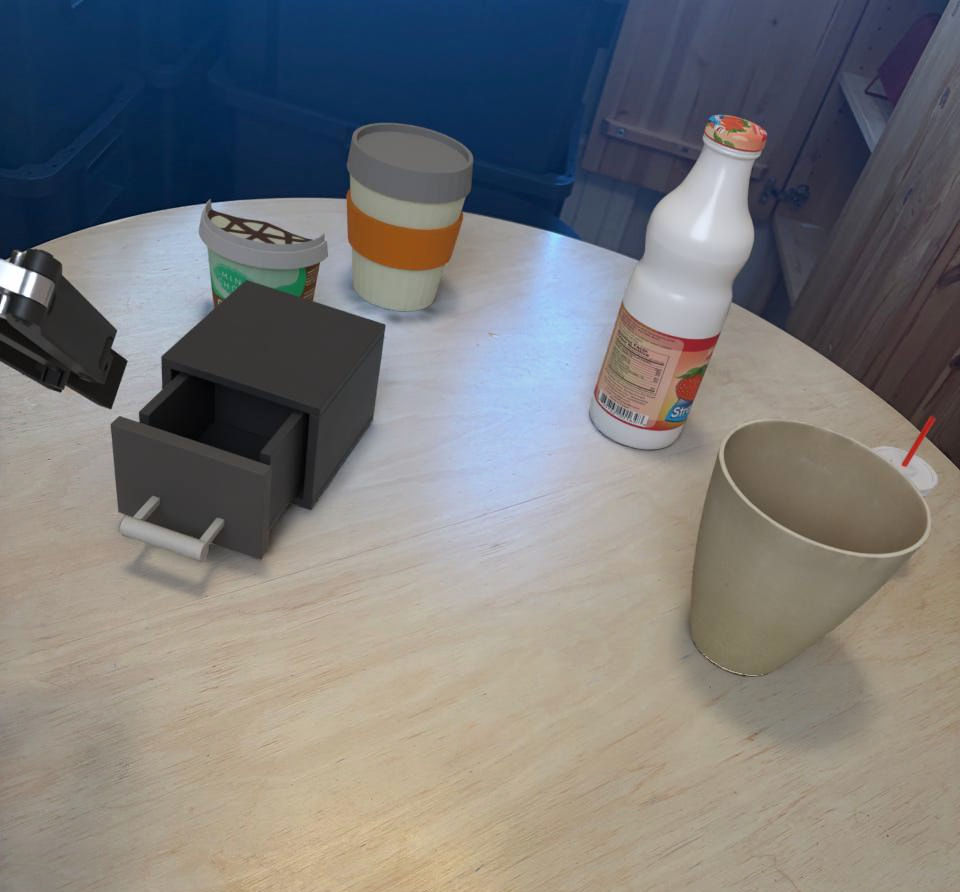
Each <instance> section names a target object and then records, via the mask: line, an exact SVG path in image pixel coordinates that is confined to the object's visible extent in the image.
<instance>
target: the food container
mask: <svg viewBox="0 0 960 892" xmlns="http://www.w3.org/2000/svg"><path fill="white" fill-rule="evenodd" d="M198 235H199V238H200V240H201V241H202V242H203V244H204V245H205V246H206V247H207V257H208V267H209V273H210V274H209V275H210V284H211V286H210V287H211V296H212V303H213V305H212V306H213V309H214V308H216V307H217V306H218V305H219V304H220V303H221V302H222V301H223V300H224V299H226V298H227V297H228V296H229V295H230V294H231V293H232V292H233V291H234V290H235V289H237V288H238V287H239V286H240V285H241V284H242V283H243V282H244V281H245V280H248V281H252V282H255V283H258V284H261V285H264V286H267V287H270V288H273V289H277V290H280V291H283V292H286V293H289V294H292V295H295V296H298V297H302V298H305V299H308V300H311V301H314V297H315V293H316V292H315V291H316V287H317V282H318V276H319V272H320V266H321V262H323V261H325V260H326V259H327V258H329V250H328V249H329V248H328V240H326V239H325V235H326V234H325V233H322V234H321V235H320V236H318V237H316V238H314V239H313V238H307V237H304V236H300V235H298V234H294V233H291V232H289V231H287V230H285V229H283V228H281V227H279V226H277V225H274V224H273V223H269V222H267V221H262V220H259V219H258V220H257V219H248V218H243V217H238V216H234V215H230V214H228V213H224V212H221V211H217V210H214V209H213V208H212V199H209V200H208V201H206V203H205V205H204V208H203V209H202V211H201V216H200V221H199V226H198Z"/></svg>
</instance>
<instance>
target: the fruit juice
mask: <svg viewBox="0 0 960 892" xmlns="http://www.w3.org/2000/svg"><path fill="white" fill-rule="evenodd" d="M767 137H768V133H767V131H766V130H765V129H764V128H763V127H762V126H760V125H759V124H757V123H754V122H753V121H750V120H747V119H744V118H742V117H738V116H733V115H728V114H715V115H714V114H713V115H711V116H710V117H709V119H708V120H707V122H706V124H705V127H704V130H703V135H702V142H703V146H702V149H701V152H700V154H699V156H698V158H697V160H696V162H695V163H694V165H693V166H692V167H691V169H690V171H689V172H688V174H687V175H686V176H685V178H684V179H683V181H682V182H681V183H680V184H679V185H678V186H677V187H675V189H673V190H672V191H670V192H669V193H667V194H666V195H665V196H664V197H663V198H662V199H661V200H660V201H659V202H658V203H657V204H656V205H655V207H654V208H653V210H652V211H651V213H650V217H649V219H648V222H647V225H646V231H645V241H644V243H645V244H644V253H643V256H642V257H641V259H640V260H639V261H638V262H636V264H635V266H634V268H633V269H632V271H631V274H630V277H629V279H628V281H627V284H626V287H625V290H624V292H623V296H622V300H621V303H620V307H619V309H618V313H617V316H616V318H615V319H616V320H615V322H614V326H613V329H612V331H611V335H610V338H609V341H608V344H607V348H606V350H605V354H604V357H603V361H602V364H601V367H600V371H599V374H598V377H597V380H596V384H595V387H594V390H593V393H592V396H591V400H590V405H589V414H590V419H591V421H592V423H593V425H594V426H595V427H596V428H597V429H598V430H599V432H601V433H602V434H603V435H604V436H606V437H607V438H609V439H611V440H612V441H614V442H617V443H619V444H621V445H623V446H626V447H630V448H634V449H639V450H651V451H652V450H660V449H661V450H662V449H664V448H667V447H669V446H671V445H672V444H674V443H675V442H676V441H677V440H678V439H679V437H680V435H681V433H682V431H683V430H684V428H685V424H686V423H687V420H688V417H689V414H690V412H691V409H692V407H693V405H694V401H695V398H696V397H697V395H698V391H699V389H700V386H701V385H702V382H703V379H704V376H705V374H706V371H707V368H708V366H709V363H710V361H711V359H712V356H713V354H714V352H715V348H716V346H717V344H718V341H719V338H720V335H721V334H722V331H723V329H724V326H725V324H726V321H727V319H728V315H729V312H730V309H731V305H732V303H733V302H732V301H733V284H734V282H735V279H736V278H737V276H738V275H739V274H740V272H741V271H742V269H743V268H744V267H745V266H746V263H747V262H748V260H749V258H750V256H751V253H752V250H753V246H754V243H755V242H754V241H755V228H754V223H753V219H752V215H751V214H750V213H751V212H750V210H749V200H748V198H749V189H750V185H749V184H750V179H751V173H752V170H753V166H754V163H755V161H756V160H757V159H758V158H759V157H760V156H761V155H762V152H763V150H764V149H765V145H766V142H767Z"/></svg>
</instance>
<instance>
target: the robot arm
mask: <svg viewBox="0 0 960 892" xmlns="http://www.w3.org/2000/svg"><path fill="white" fill-rule="evenodd" d="M117 333H118V330H117V328H116V327H115V326H114V325H113V324H112V323H111V322H110V321H109V320H108V319H107V318H106V317H105V316H104V315H103V314H102V313H101V312H100V311H99V310H98V309H97V308H96V307H95V306H94V305H93V304H92V303H91V302H90V300H88V299H87V298H86V297H85V296H84V295H83V293H81V292H80V291H79V290H78V289H77V287H75V286H74V285H73V284H72V283H71V282H70V281H69V280H68V279H67V278H66V277H65V276H64V275H63V264H62V262H61V261H60V260H58V259H57V258H55V257H54V255H53V254H52V253H50V252H48V251H46V250H43V249H38V248H27V249H26V251H25V252H23V251H20V250H18V249H15V250H12V252H11V256H10V257H9V261H8V260H6V259H3V258H0V362H1V364H2V363H3V364H4V365H6V366H8V367H9V368H11V369H13V370H14V371H17V372H18V373H20V374H21V375H23V376H25V377H27V378H28V379H30V380H32V381H34V382H35V383H38V384H39V385H41V386H42V387H45V388H46V389H47V390H51V391H53V392H56V393H59V394H62V391H63V390H65V388H66V387H67V388H69V389H70V390H72V391H74V392H75V393H77V394H79V395H80V396H82V397H84V398H86V399H87V400H88V401H90V402H92V403H93V404H95V405H97V406H99V407H103V408H106V409H109V410H112V409H113V406H114V403H115V400H116V398H117V394H118V391H119V389H120V385H121V383H122V381H123V380H122V379H123V376H124V374H125V371H126V368H127V365H128V362H129V361H128V360H127V359H126V358H125V357H124V356H122V355H121V354H120V353H119V352H118V351H116V350H114V349H113V345H114V342H115V339H116V336H117Z"/></svg>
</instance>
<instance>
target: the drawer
mask: <svg viewBox="0 0 960 892" xmlns="http://www.w3.org/2000/svg"><path fill="white" fill-rule="evenodd" d="M309 416H310V414H308V413H305V412H302V411H299V410H296V409H293V408H290V407H287V406H284V405H281V404H278V403H275V402H272V401H269V400H266V399H263V398H260V397H257V396H253V395H250V394H247V393H244V392H241V391H238V390H235V389H232V388H229V387H226V386H223V385H220V384H217V383H214V382H211V381H208V380H205V379H201V378H198V377H195V376H192V375H189V374H186V373H183V372H180V373H179V374H178V375H177V376H176V377H175V378H174V379H173V380H172V381H171V382H170V383H169V384H168V385H167V386H165V387H164V388H163V389H162V388H161V390H160V391H159V392H158V393H157V394H156V395H155V396H153V398H152V399H151V400H150V401H148V403H146V404H145V405H144V406H143V407H142V408H141V409H140V410H139V411H138V421H137V420H133V419H130V418H127V417H124V416H121V415H119V416H117V417H116V419H114V420H113V421H112V422H111V423H110V434H111V443H112V444H111V445H112V457H113V468H114V478H115V492H116V503H117V512H118V513H119V514H122V515H125V517H124V518H122V521H121V523H120V526H119V532H120V533H119V534H121V535H122V536H124V537H128V538H130V539H133V540H136V541H139V542H142V543H144V544H148V545H151V546H153V547H154V546H155V547H157V548H159V549H163V550H166V551H168V552H172V553H174V554H177V555H181V556H184V557H186V558H189V559H193V560H195V561H197V562H204V560H206V558H207V556H208V554H209V550H210V545H211V544H212V545H215V546H217V547H219V548H223V549H227V550H229V551H232V552H235V553H238V554H240V555H244V556H247V557H250V558H252V559H256V560H258V561H263V559H264V557H265V556H266V555H267V554H268V551H269V536H270V535H269V533H270V531H271V529H273V527H274V525H275V524H276V522H277V521H278V519H280V517H281V516H282V514H283V513H284V511H285V510H286V508H287V507H288V506H289V504H291V503H290V502H291V500H292V499H293V498H294V496H295V495H296V493H297V492H298V491H299V489H300V488H301V487H302V485H303V484H304V478H305V466H306V453H307V441H308V428H309Z"/></svg>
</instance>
